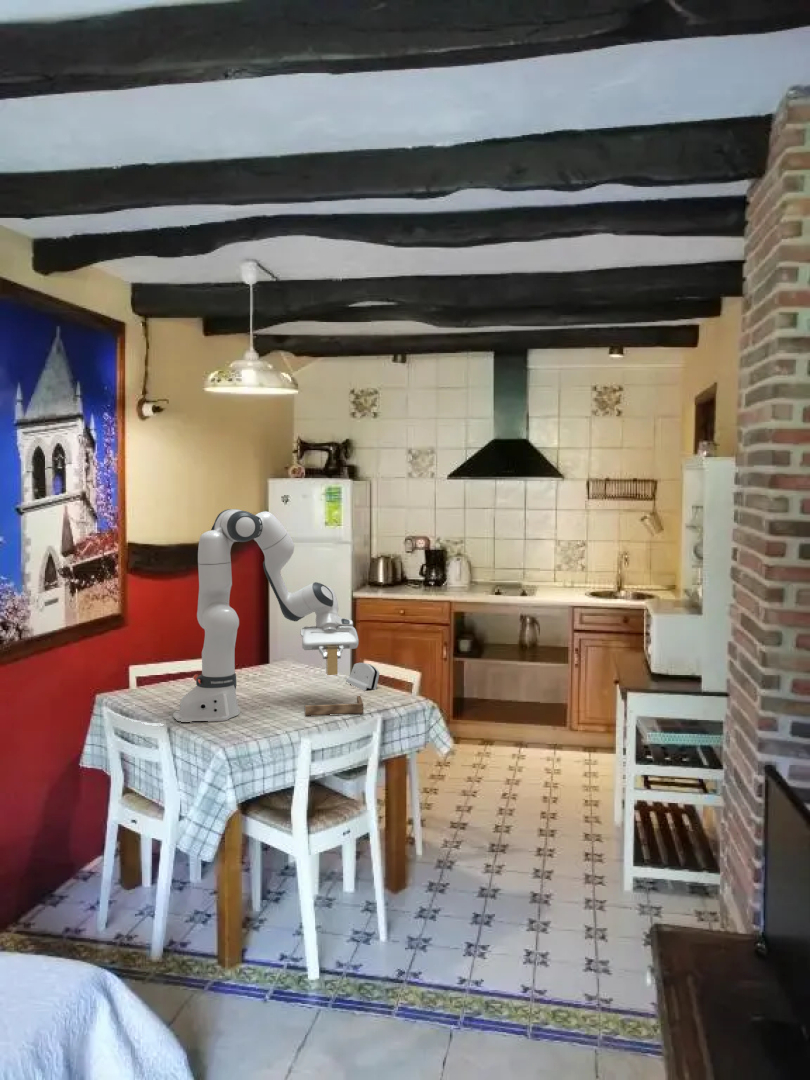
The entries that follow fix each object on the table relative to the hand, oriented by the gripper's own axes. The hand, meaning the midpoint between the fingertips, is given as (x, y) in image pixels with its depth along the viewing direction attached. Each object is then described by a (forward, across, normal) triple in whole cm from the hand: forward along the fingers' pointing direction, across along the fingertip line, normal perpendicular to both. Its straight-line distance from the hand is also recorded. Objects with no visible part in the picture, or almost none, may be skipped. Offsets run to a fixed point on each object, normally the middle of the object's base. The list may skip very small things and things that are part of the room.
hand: (332, 657), depth 309 cm
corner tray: (+15, 0, +10) cm, 18 cm away
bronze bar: (+4, 0, +5) cm, 6 cm away
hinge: (-9, +17, +34) cm, 39 cm away
